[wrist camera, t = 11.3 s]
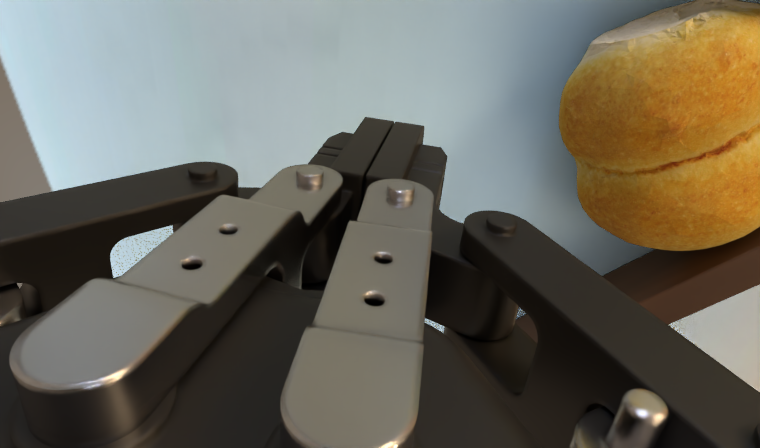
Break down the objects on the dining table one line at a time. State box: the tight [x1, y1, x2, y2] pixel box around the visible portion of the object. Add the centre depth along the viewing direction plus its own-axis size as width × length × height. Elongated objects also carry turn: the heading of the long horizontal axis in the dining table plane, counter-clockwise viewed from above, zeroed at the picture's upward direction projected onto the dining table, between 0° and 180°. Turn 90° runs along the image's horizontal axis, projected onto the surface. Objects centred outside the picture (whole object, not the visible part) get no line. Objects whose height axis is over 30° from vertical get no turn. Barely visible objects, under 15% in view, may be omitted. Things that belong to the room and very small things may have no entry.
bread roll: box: [559, 0, 760, 251], centre depth 21 cm, size 8×9×4 cm
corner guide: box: [515, 227, 760, 343], centre depth 21 cm, size 18×18×3 cm
